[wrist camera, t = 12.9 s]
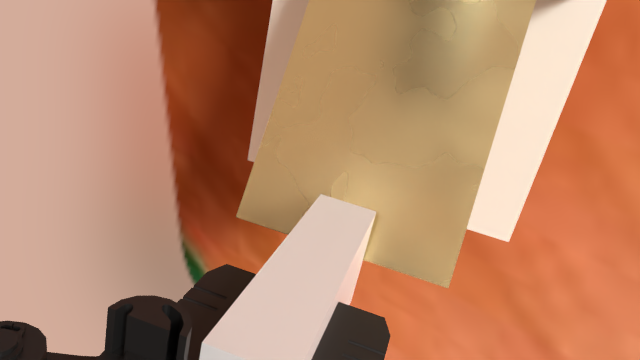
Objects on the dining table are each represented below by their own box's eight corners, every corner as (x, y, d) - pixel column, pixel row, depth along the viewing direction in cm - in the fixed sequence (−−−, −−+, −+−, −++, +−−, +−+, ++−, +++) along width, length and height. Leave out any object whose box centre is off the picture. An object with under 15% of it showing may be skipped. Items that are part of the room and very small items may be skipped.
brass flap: (349, -92, 17) (346, -113, 16) (547, -50, 16) (557, -70, 15) (245, 218, 16) (235, 217, 15) (445, 286, 15) (448, 288, 14)
